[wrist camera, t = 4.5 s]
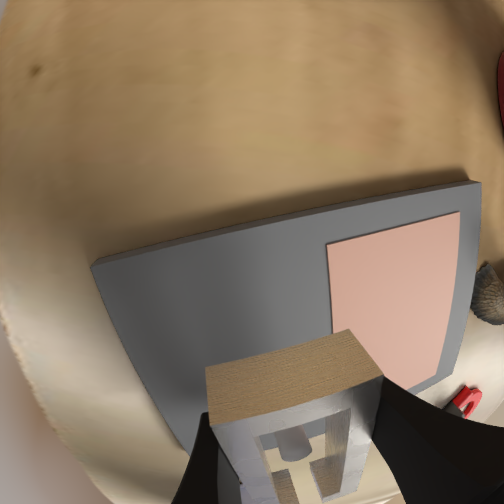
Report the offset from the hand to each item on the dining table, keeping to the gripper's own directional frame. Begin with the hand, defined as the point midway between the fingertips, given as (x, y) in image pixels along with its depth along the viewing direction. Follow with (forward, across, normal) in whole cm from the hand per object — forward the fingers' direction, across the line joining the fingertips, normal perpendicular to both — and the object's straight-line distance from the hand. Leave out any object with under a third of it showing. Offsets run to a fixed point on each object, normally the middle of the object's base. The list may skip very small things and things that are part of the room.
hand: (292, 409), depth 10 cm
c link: (+1, 0, +2) cm, 2 cm away
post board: (+6, -4, +2) cm, 8 cm away
